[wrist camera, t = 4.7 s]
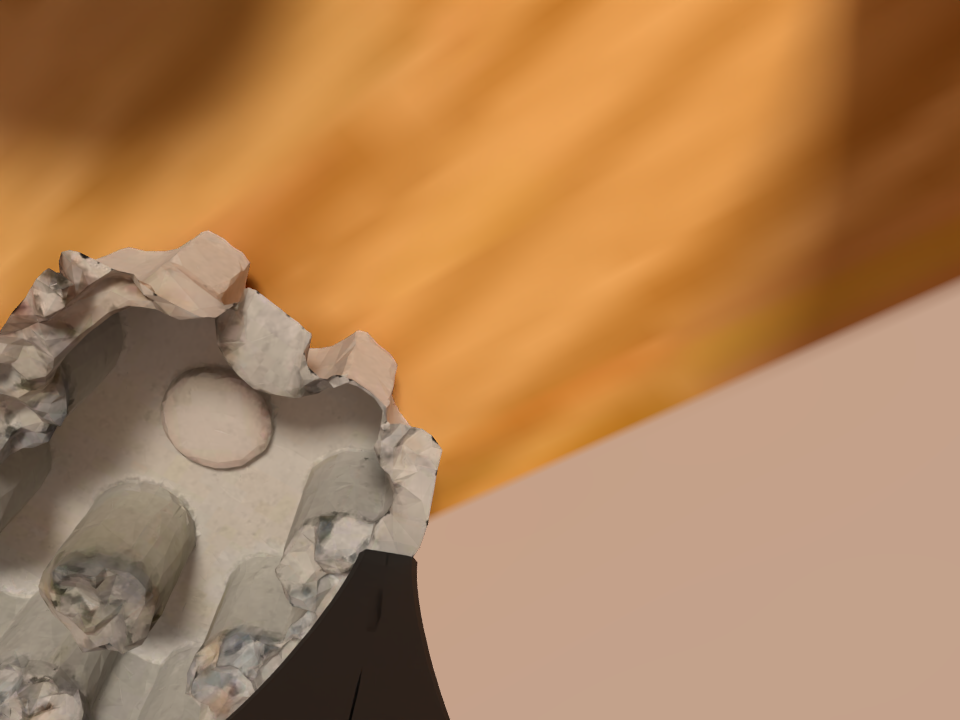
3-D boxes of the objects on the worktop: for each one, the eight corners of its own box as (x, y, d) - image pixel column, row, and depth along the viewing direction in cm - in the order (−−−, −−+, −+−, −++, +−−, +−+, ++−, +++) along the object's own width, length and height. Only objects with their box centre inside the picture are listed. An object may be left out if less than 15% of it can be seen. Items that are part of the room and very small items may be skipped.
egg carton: (160, 165, 13) (46, 220, 9) (478, 402, 15) (487, 521, 12) (-92, 540, 16) (-253, 693, 12) (203, 691, 18) (141, 859, 15)
